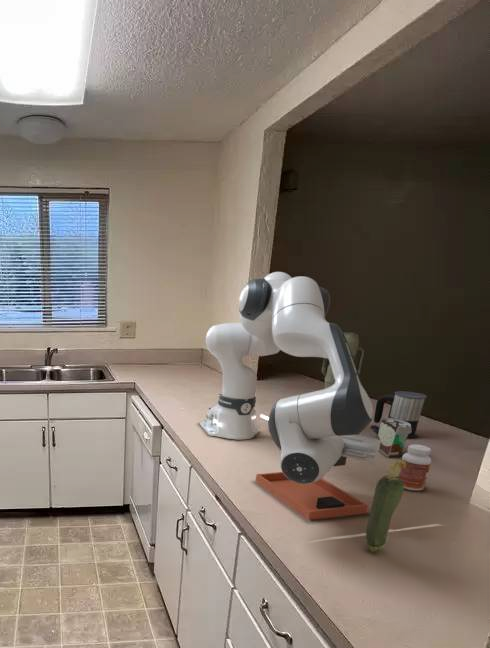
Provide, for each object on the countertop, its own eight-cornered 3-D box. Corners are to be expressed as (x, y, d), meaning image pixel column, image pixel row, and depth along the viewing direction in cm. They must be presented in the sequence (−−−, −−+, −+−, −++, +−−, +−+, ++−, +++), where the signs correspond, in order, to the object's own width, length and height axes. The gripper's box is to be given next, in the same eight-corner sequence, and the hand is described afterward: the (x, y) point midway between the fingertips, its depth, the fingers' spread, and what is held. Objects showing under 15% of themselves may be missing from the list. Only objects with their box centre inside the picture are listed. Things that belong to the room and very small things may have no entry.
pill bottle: (427, 492, 112) (439, 452, 108) (399, 489, 113) (410, 450, 110) (418, 483, 117) (429, 444, 113) (392, 480, 119) (401, 442, 115)
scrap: (315, 507, 104) (317, 497, 103) (330, 505, 104) (332, 496, 104) (327, 515, 100) (329, 505, 99) (342, 513, 101) (344, 503, 100)
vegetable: (356, 543, 90) (378, 453, 83) (376, 542, 90) (399, 452, 83) (371, 555, 86) (395, 462, 79) (392, 554, 86) (418, 461, 79)
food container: (412, 460, 133) (421, 429, 129) (390, 458, 134) (398, 428, 130) (394, 446, 144) (401, 417, 140) (373, 445, 145) (380, 416, 142)
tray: (255, 482, 118) (256, 474, 117) (305, 477, 121) (306, 469, 120) (308, 521, 98) (310, 511, 97) (366, 514, 101) (368, 505, 100)
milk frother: (415, 433, 157) (425, 393, 152) (418, 445, 144) (430, 402, 139) (369, 426, 164) (377, 388, 159) (368, 438, 152) (377, 397, 147)
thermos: (309, 423, 168) (326, 331, 156) (344, 426, 164) (364, 332, 152) (312, 430, 160) (331, 333, 148) (349, 433, 157) (370, 334, 145)
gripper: (378, 444, 89) (388, 428, 99) (276, 425, 102) (294, 412, 112) (371, 472, 92) (382, 453, 101) (272, 449, 104) (290, 435, 114)
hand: (335, 431), depth 107 cm, fingers closed on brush, 3 cm apart
